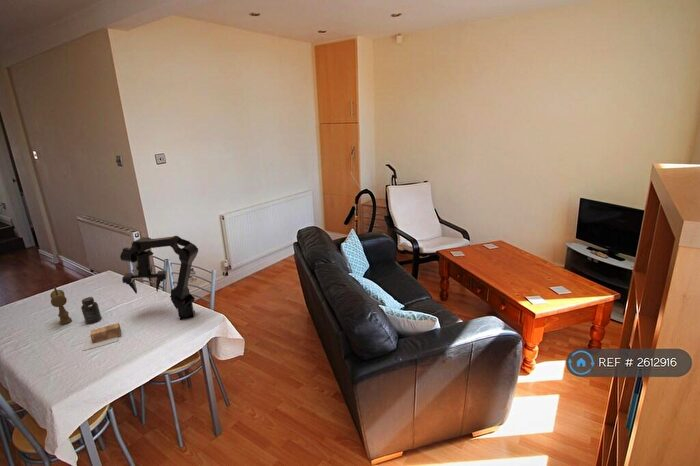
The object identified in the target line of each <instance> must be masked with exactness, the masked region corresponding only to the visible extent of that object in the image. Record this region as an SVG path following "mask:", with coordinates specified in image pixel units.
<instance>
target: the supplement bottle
mask: <svg viewBox="0 0 700 466" xmlns="http://www.w3.org/2000/svg"><path fill="white" fill-rule="evenodd" d="M81 304H82V305H81V307H80V309H81V312H82V316H83V318H84V319H83V320H84V322H85V323H86V324H88V325H90V324H95V323H98V322H100V321H101V319H102V315H101V311H100V307H99V304H98V303H97V301H95V299H94V297H93V296H88V297H85V298H83V299H81Z"/></svg>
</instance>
